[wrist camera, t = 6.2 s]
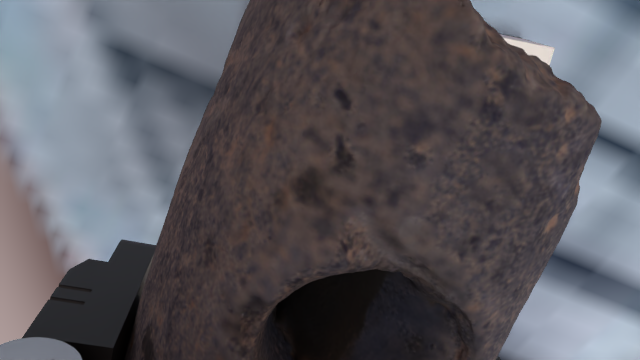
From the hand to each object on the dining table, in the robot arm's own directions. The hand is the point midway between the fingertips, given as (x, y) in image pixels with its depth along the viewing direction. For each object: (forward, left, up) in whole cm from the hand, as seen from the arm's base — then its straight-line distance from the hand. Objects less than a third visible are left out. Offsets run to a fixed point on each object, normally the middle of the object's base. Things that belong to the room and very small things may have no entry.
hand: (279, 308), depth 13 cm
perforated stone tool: (0, 0, -2) cm, 2 cm away
